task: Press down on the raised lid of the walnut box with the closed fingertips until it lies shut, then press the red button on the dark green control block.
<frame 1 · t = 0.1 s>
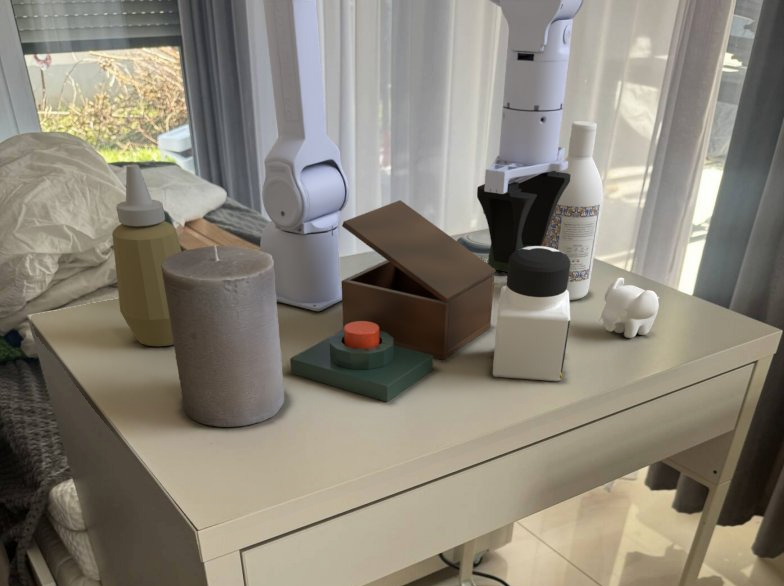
hand: (518, 253, 81), 10 cm above the table, tool pointing down, fingers open, 6 cm apart
button: (361, 335, 79), point 4 cm above the table, slide at 0.1 cm
character mug: (509, 270, 110), on the table
button block: (362, 371, 81), on the table
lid: (421, 248, 85), point 9 cm above the table, hinge at 24.0°
box: (417, 330, 91), on the table
medicine bottle: (526, 366, 83), on the table, touching gripper
elephant figurine: (626, 335, 91), on the table
squeeze bottle: (164, 339, 88), on the table
pillar candle: (236, 406, 75), on the table
bath foam: (561, 294, 102), on the table
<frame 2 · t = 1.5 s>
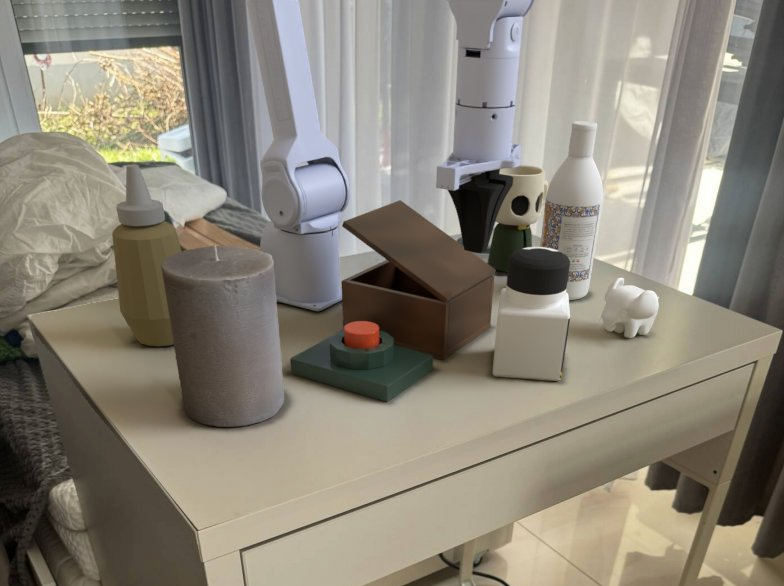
hand: (475, 250, 82), 10 cm above the table, tool pointing down, fingers closed
medicine bottle: (526, 367, 83), on the table
everything else where it was.
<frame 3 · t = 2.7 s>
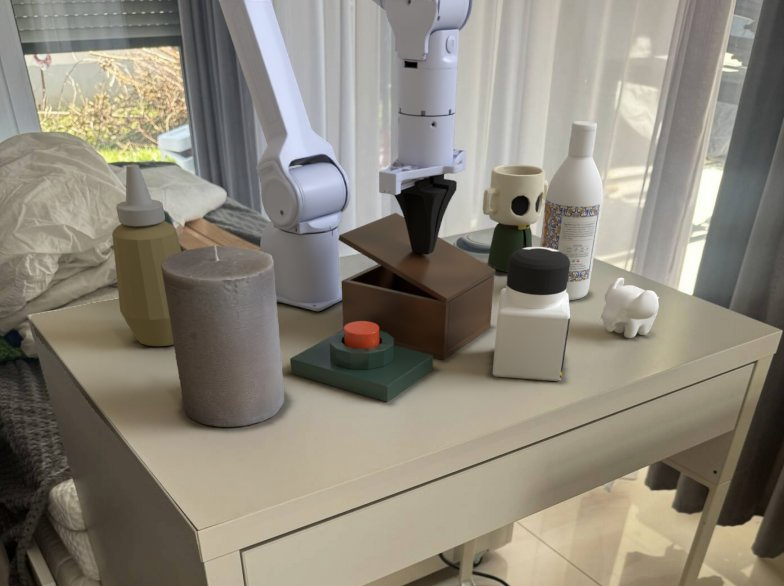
hand: (422, 251, 85), 9 cm above the table, tool pointing down, fingers closed, pressing on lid
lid: (419, 255, 86), point 9 cm above the table, hinge at 17.5°, touching gripper
everything else where it was.
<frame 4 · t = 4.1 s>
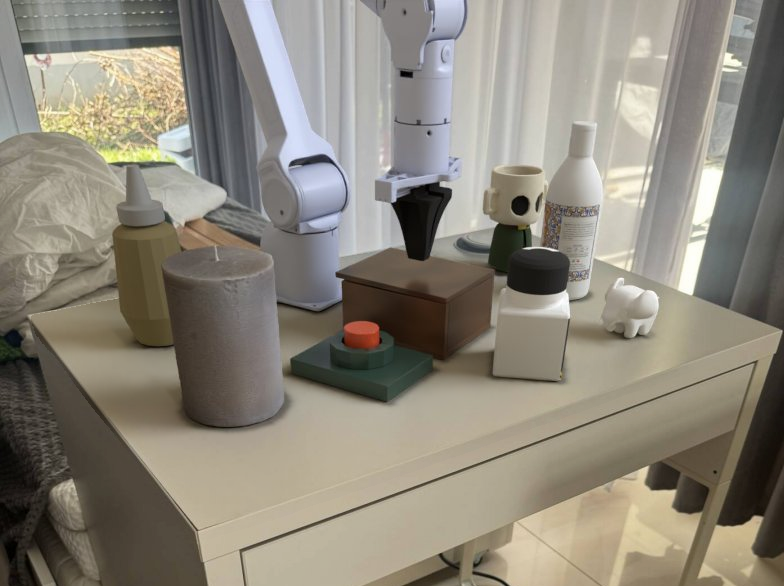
hand: (418, 258, 86), 8 cm above the table, tool pointing down, fingers closed
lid: (416, 273, 87), point 7 cm above the table, hinge at 0.7°
everything else where it was.
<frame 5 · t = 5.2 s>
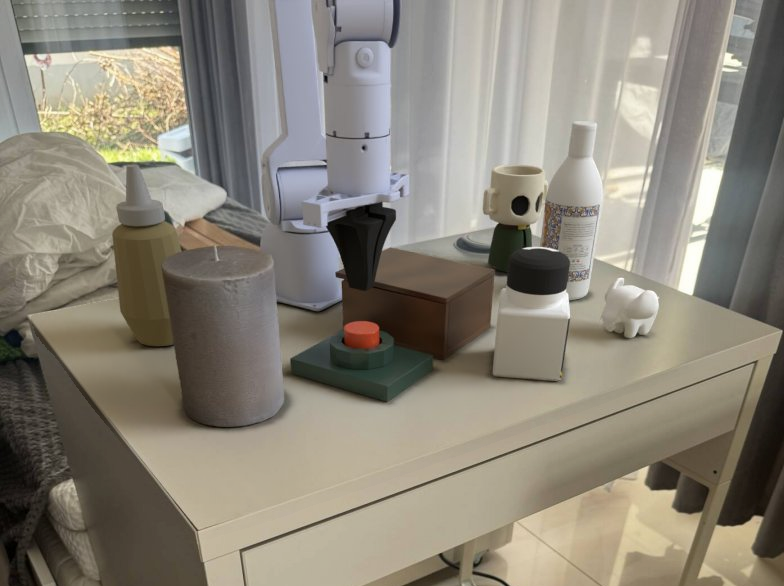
hand: (361, 287, 76), 9 cm above the table, tool pointing down, fingers closed
nothing on the table moved.
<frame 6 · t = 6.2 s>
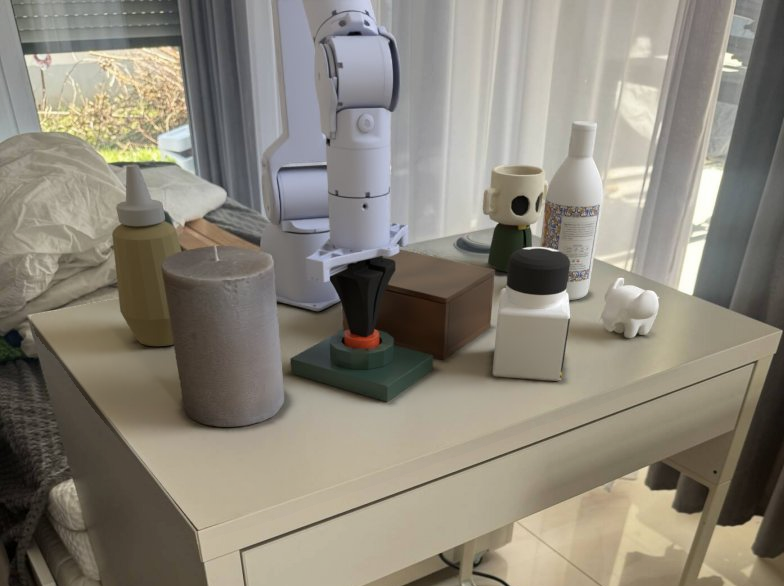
hand: (361, 333, 79), 4 cm above the table, tool pointing down, fingers closed, pressing on button
button: (361, 341, 79), point 3 cm above the table, slide at -0.5 cm, touching gripper
everything else where it was.
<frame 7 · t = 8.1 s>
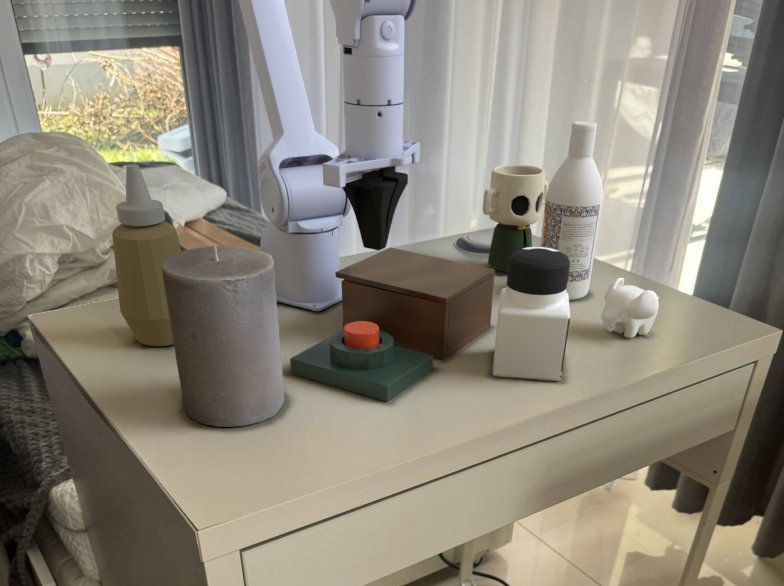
hand: (374, 247, 82), 10 cm above the table, tool pointing down, fingers closed
button: (361, 335, 79), point 4 cm above the table, slide at 0.1 cm
everything else where it was.
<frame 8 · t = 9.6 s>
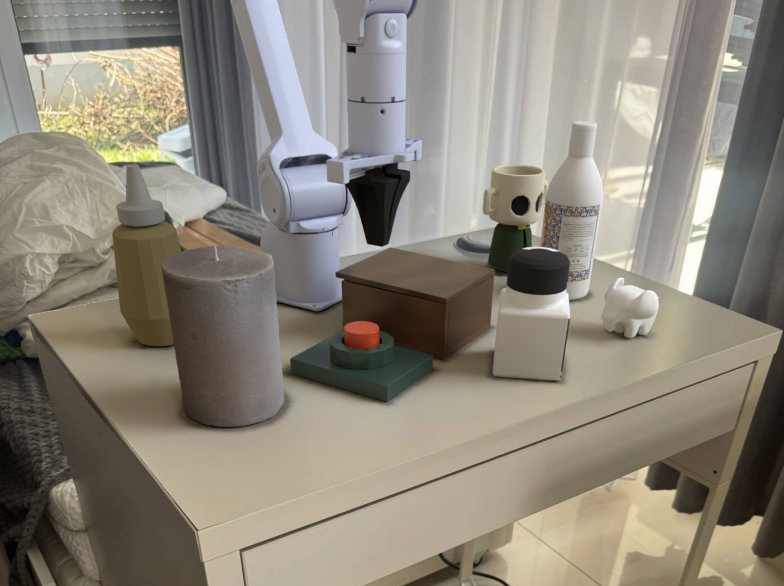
hand: (377, 244, 83), 10 cm above the table, tool pointing down, fingers closed
nothing on the table moved.
at the end: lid at +1° (first picture: +24°); button pushed in 1.2 cm at the most during the clip, back to where it started at the end; button slide at 0.1 cm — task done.
